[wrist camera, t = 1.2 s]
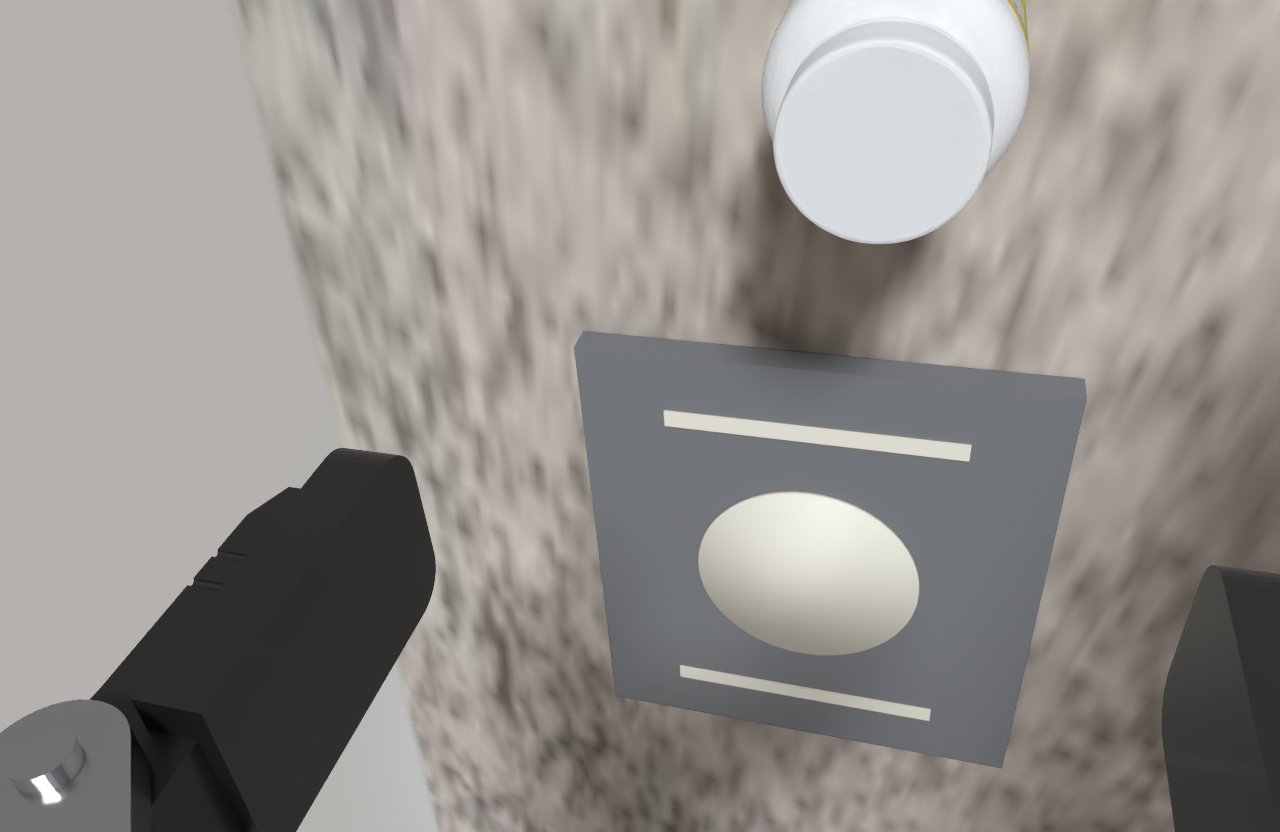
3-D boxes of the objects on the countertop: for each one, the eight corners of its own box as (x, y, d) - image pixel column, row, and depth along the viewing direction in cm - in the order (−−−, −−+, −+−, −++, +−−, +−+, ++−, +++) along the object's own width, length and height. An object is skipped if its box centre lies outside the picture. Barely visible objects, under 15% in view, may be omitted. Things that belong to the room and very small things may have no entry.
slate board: (1084, 379, 32) (1086, 402, 31) (1002, 747, 42) (1002, 772, 42) (583, 331, 36) (572, 350, 35) (622, 678, 47) (614, 699, 46)
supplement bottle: (905, 142, 29) (868, 327, 22) (764, 2, 28) (673, 146, 20) (1074, -5, 26) (1098, 152, 18) (921, -171, 25) (882, -76, 17)
